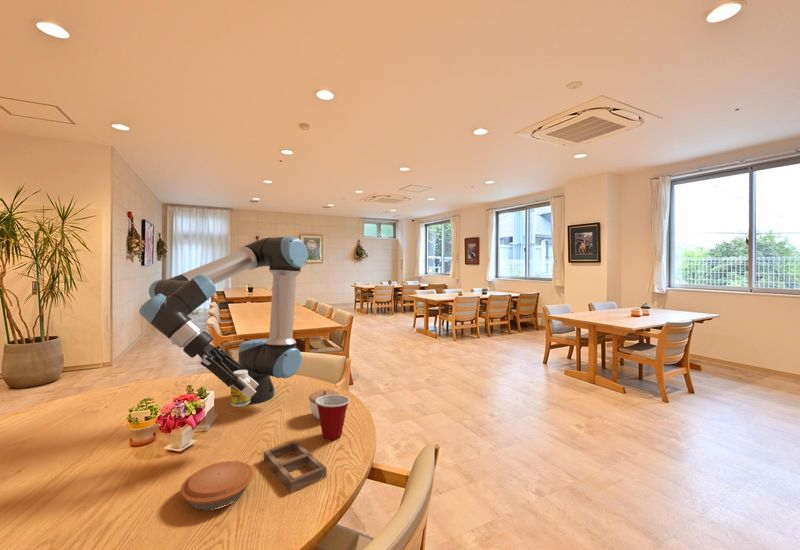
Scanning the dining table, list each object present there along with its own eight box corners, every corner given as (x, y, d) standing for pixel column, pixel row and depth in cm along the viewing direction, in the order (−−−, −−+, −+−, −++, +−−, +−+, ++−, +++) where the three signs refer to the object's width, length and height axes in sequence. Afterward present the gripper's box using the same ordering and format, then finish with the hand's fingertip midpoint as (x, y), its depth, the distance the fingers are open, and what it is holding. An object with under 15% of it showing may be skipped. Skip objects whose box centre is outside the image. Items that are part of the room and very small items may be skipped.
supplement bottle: (254, 401, 107) (254, 370, 107) (241, 408, 102) (241, 375, 102) (239, 398, 109) (240, 368, 108) (226, 405, 104) (226, 373, 103)
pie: (174, 526, 74) (174, 503, 74) (186, 483, 88) (186, 463, 88) (254, 507, 80) (254, 485, 80) (253, 469, 95) (253, 451, 94)
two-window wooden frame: (263, 460, 99) (263, 451, 99) (296, 448, 105) (296, 440, 105) (291, 492, 85) (291, 482, 85) (326, 477, 91) (326, 467, 91)
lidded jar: (343, 410, 132) (343, 386, 131) (335, 424, 121) (335, 397, 121) (315, 409, 133) (315, 384, 132) (304, 422, 122) (304, 395, 122)
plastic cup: (355, 430, 116) (355, 395, 116) (339, 447, 106) (339, 407, 106) (326, 425, 120) (326, 390, 119) (308, 440, 110) (308, 402, 109)
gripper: (192, 341, 110) (249, 389, 115) (170, 357, 92) (239, 414, 97) (211, 324, 111) (266, 372, 116) (193, 336, 93) (259, 393, 98)
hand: (253, 391), depth 106 cm, fingers closed on supplement bottle, 5 cm apart
